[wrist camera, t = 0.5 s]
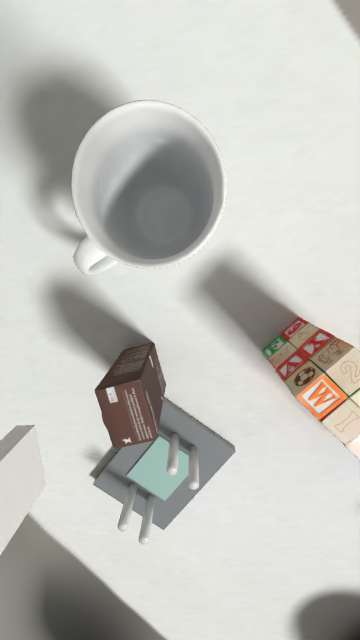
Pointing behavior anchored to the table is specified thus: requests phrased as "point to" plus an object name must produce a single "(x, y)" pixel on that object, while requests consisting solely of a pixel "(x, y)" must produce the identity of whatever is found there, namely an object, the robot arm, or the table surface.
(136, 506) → the grey pegged stand
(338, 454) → the table surface
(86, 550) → the table surface
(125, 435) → the box
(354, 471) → the table surface
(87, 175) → the mug
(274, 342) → the stack of blocks
